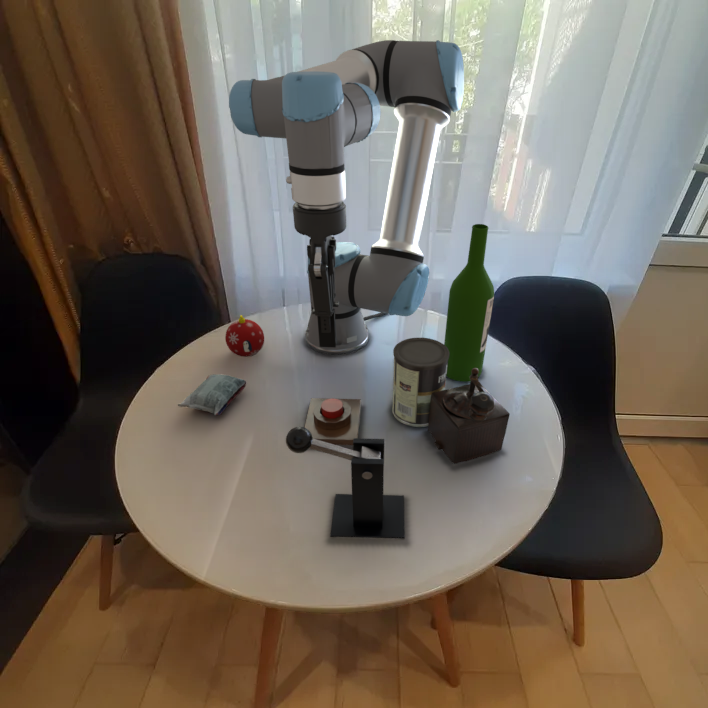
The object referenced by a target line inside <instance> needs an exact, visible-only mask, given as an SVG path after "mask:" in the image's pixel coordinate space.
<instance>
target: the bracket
mask: <svg viewBox="0 0 708 708" xmlns="http://www.w3.org/2000/svg"><path fill="white" fill-rule="evenodd" d="M362 446H363V447H367V448H370V449H373V450H377V451H380V452H381V456H380V459H364V458H352V459H351V460H350V474H351V493H335V496H334V505H333V512H332V519H331V528H330V534H329V536H330V537H331V538H358V539H359V538H360V539H361V538H363V539H364V538H365V539H405V537H406V535H405V496H404V495H401V494H400V495H399V494H397V495H396V494H393V495H392V494H384V484H385V483H384V479H385V438H364V437H363V438H362V437H361V438H359V437H358V438H354V439H353V445H352V450H354V451H358V452H360V450H361V448H362Z"/></svg>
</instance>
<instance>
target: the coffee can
mask: <svg viewBox="0 0 708 708" xmlns="http://www.w3.org/2000/svg"><path fill="white" fill-rule="evenodd" d="M392 353H393V379H392V383H393V384H392V406H391V411H392V412H391V413H392V416H394V418H395V419H396V420H397V421H398V422H399V423H401V424H403V425H406V426H408V427H413V428H425V427H428V423H429V412H430V401H431V394H432V393H434V392H438V391H442V390H446V384H447V383H446V382H447V376H446V374H447V365H448V359H449V350H448V348H447V347H446V346H445V345H444V343H442V342H440V341H438V340H436V339H432V338H430V337H429V338H428V337H410V338H406V339H403V340H401V341H399V342H397V344H396V345H395V346H394V347H393V352H392Z"/></svg>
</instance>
